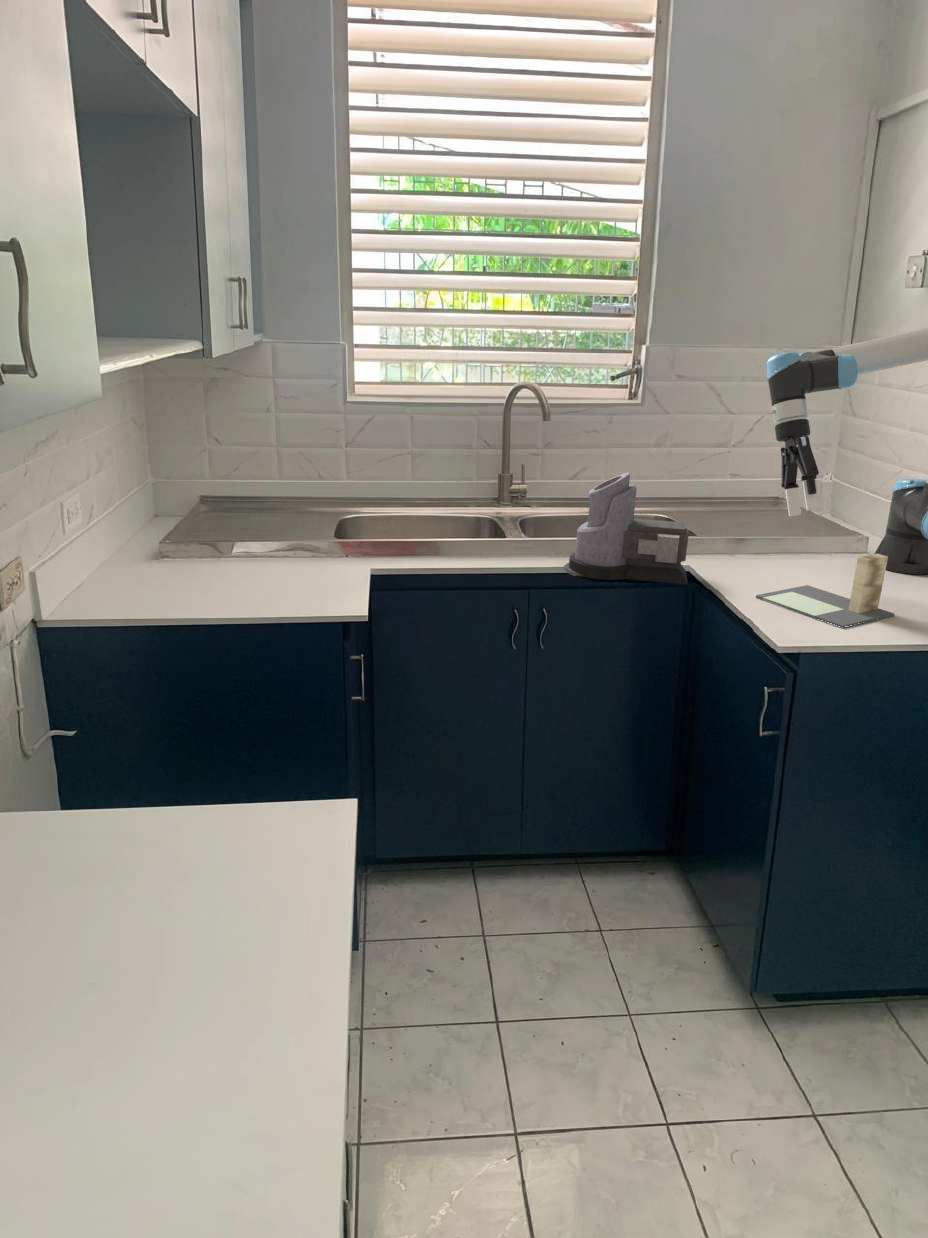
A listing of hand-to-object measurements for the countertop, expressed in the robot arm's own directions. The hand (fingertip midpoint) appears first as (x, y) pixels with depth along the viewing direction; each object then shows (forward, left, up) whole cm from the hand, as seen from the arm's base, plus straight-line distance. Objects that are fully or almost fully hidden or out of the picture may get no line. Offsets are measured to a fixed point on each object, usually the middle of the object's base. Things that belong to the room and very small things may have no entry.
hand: (803, 512), depth 216 cm
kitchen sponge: (0, +20, -12) cm, 23 cm away
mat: (+5, +13, -18) cm, 23 cm away
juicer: (+28, -27, -18) cm, 43 cm away
